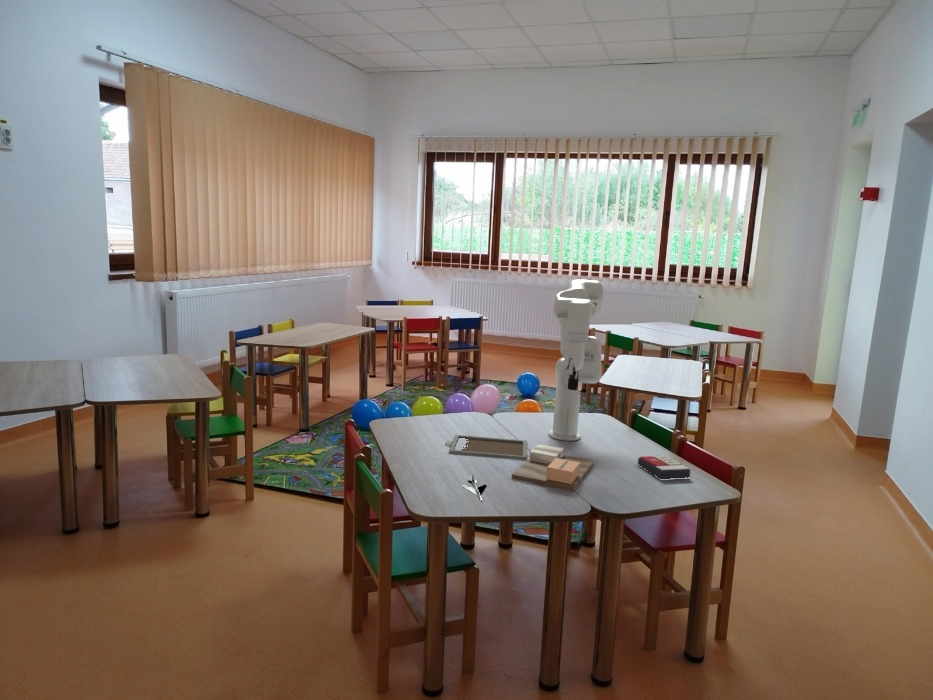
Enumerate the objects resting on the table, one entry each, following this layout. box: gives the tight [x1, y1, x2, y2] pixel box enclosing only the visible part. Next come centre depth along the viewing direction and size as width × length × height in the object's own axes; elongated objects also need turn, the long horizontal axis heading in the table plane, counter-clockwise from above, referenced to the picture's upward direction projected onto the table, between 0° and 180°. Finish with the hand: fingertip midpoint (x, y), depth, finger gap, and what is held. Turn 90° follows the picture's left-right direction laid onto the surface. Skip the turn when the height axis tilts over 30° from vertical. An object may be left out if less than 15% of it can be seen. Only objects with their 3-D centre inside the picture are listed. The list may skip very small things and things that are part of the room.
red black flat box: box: [637, 455, 691, 479], centre depth 214 cm, size 11×4×15 cm
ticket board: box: [511, 443, 595, 492], centre depth 208 cm, size 28×20×4 cm
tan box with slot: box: [546, 458, 580, 484], centre depth 199 cm, size 10×8×4 cm
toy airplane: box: [461, 474, 488, 502], centre depth 190 cm, size 8×21×2 cm, turn 10°
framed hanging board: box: [444, 434, 528, 461], centre depth 229 cm, size 19×2×30 cm
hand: (572, 389), depth 218 cm, fingers closed
